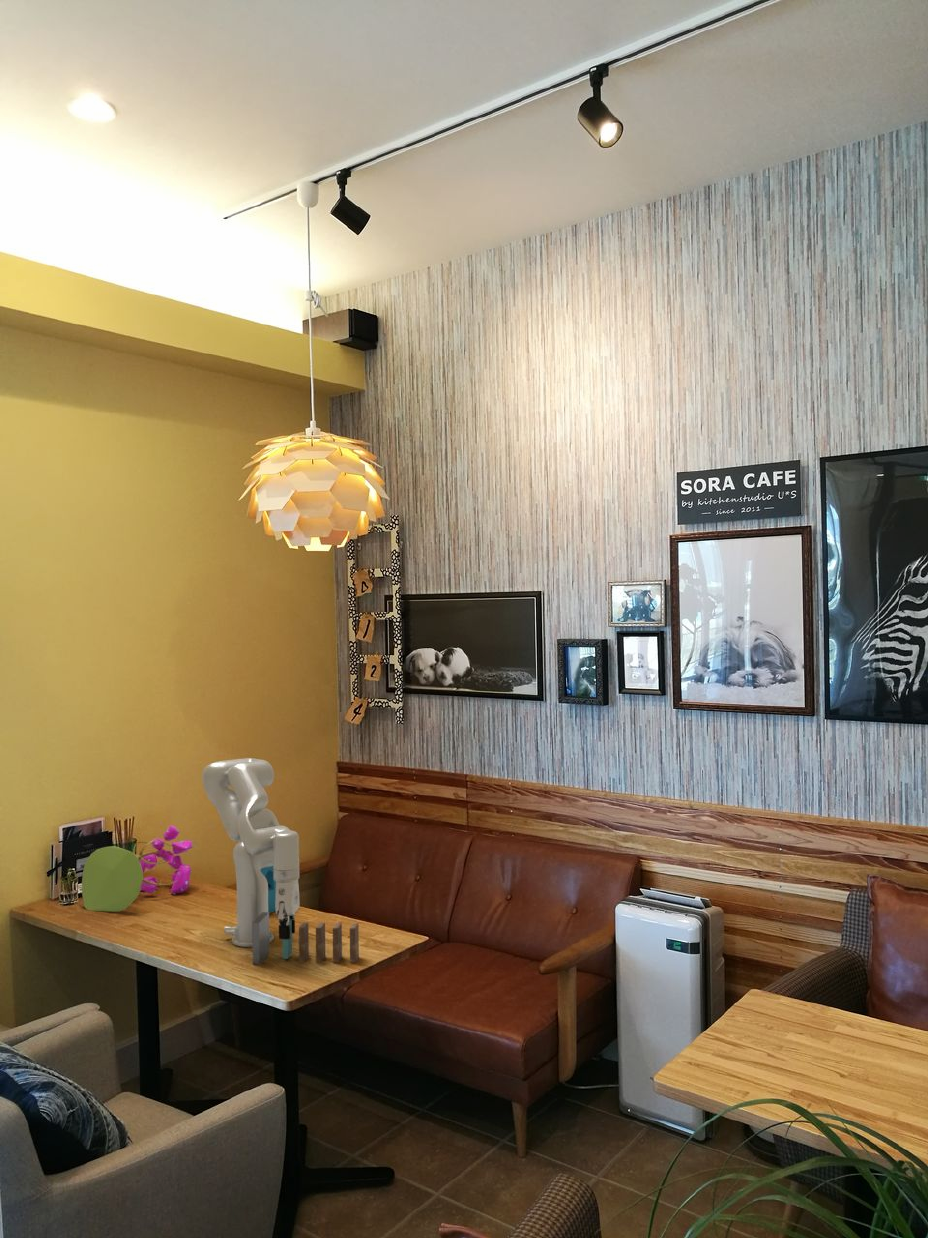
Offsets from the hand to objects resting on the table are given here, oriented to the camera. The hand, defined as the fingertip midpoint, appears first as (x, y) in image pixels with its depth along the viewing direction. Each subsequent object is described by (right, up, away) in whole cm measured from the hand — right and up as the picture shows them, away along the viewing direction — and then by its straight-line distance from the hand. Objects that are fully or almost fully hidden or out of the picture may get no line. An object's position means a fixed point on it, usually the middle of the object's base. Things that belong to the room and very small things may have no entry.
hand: (287, 935), depth 280 cm
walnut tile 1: (+20, -7, -2) cm, 21 cm away
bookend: (-8, -7, +1) cm, 10 cm away
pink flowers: (-64, -8, +65) cm, 92 cm away
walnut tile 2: (+15, -7, -1) cm, 16 cm away
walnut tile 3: (+10, -7, -1) cm, 12 cm away
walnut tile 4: (+5, -7, 0) cm, 8 cm away
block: (-16, -7, +47) cm, 50 cm away
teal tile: (0, -6, 0) cm, 6 cm away
